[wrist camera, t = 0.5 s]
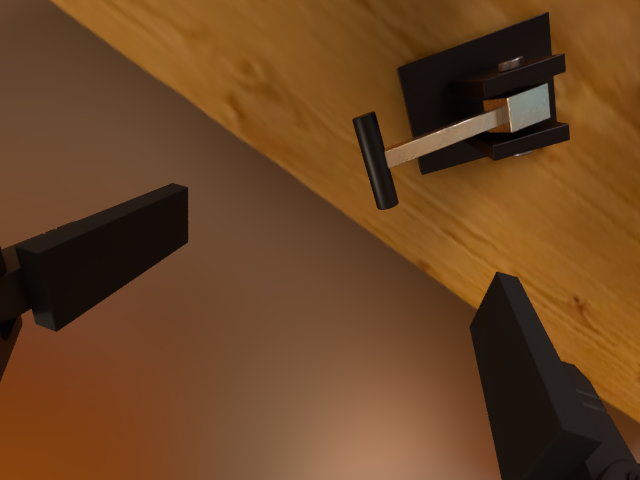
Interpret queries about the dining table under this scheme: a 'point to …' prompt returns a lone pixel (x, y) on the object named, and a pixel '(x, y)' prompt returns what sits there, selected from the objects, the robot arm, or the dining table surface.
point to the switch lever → (446, 135)
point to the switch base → (483, 92)
